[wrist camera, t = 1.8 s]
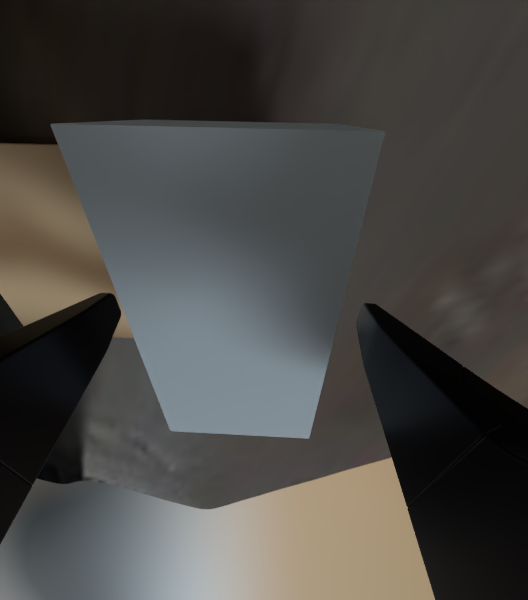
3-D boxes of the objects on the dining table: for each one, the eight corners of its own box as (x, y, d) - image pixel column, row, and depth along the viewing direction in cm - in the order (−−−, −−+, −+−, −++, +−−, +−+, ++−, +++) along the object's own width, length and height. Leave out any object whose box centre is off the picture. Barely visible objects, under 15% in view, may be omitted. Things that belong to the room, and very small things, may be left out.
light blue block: (302, 364, 14) (309, 438, 11) (194, 359, 14) (170, 431, 11) (340, 123, 8) (385, 132, 4) (143, 119, 8) (50, 123, 5)
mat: (163, 335, 17) (161, 339, 17) (33, 329, 18) (29, 333, 17) (107, 145, 11) (102, 146, 10) (-98, 140, 11) (-109, 141, 11)
